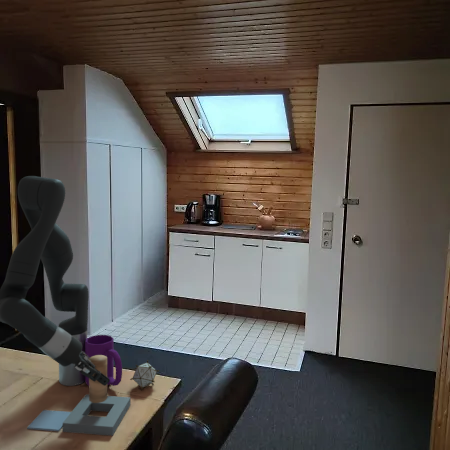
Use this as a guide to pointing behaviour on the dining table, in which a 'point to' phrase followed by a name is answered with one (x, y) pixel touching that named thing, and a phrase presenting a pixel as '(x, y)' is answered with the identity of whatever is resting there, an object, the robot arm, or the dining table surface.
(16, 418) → the dining table surface
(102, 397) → the peg
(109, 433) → the board
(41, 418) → the pad
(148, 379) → the game die
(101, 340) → the mug
